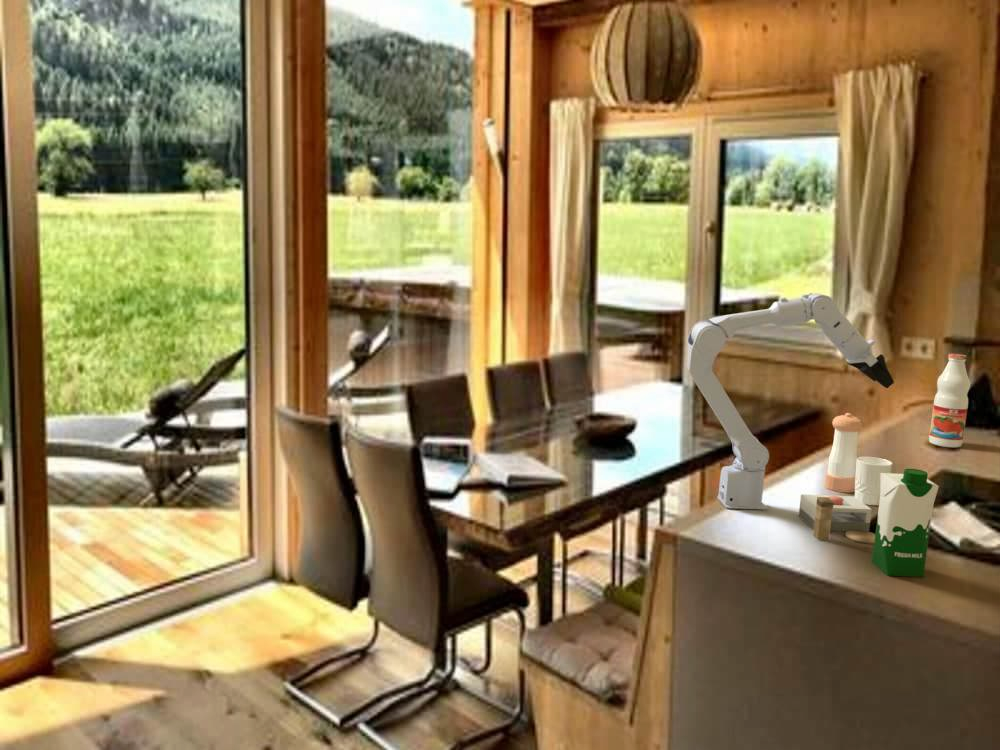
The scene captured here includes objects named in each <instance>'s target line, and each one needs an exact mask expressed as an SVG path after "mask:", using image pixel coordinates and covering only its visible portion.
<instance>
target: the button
mask: <svg viewBox="0 0 1000 750" xmlns="http://www.w3.org/2000/svg"><path fill="white" fill-rule="evenodd" d="M837 496H838V495H830V497H829V498H830V499H832V500H833V503H834V504H833V505H843V506H844V503H843V498H841V497H837Z"/></svg>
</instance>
